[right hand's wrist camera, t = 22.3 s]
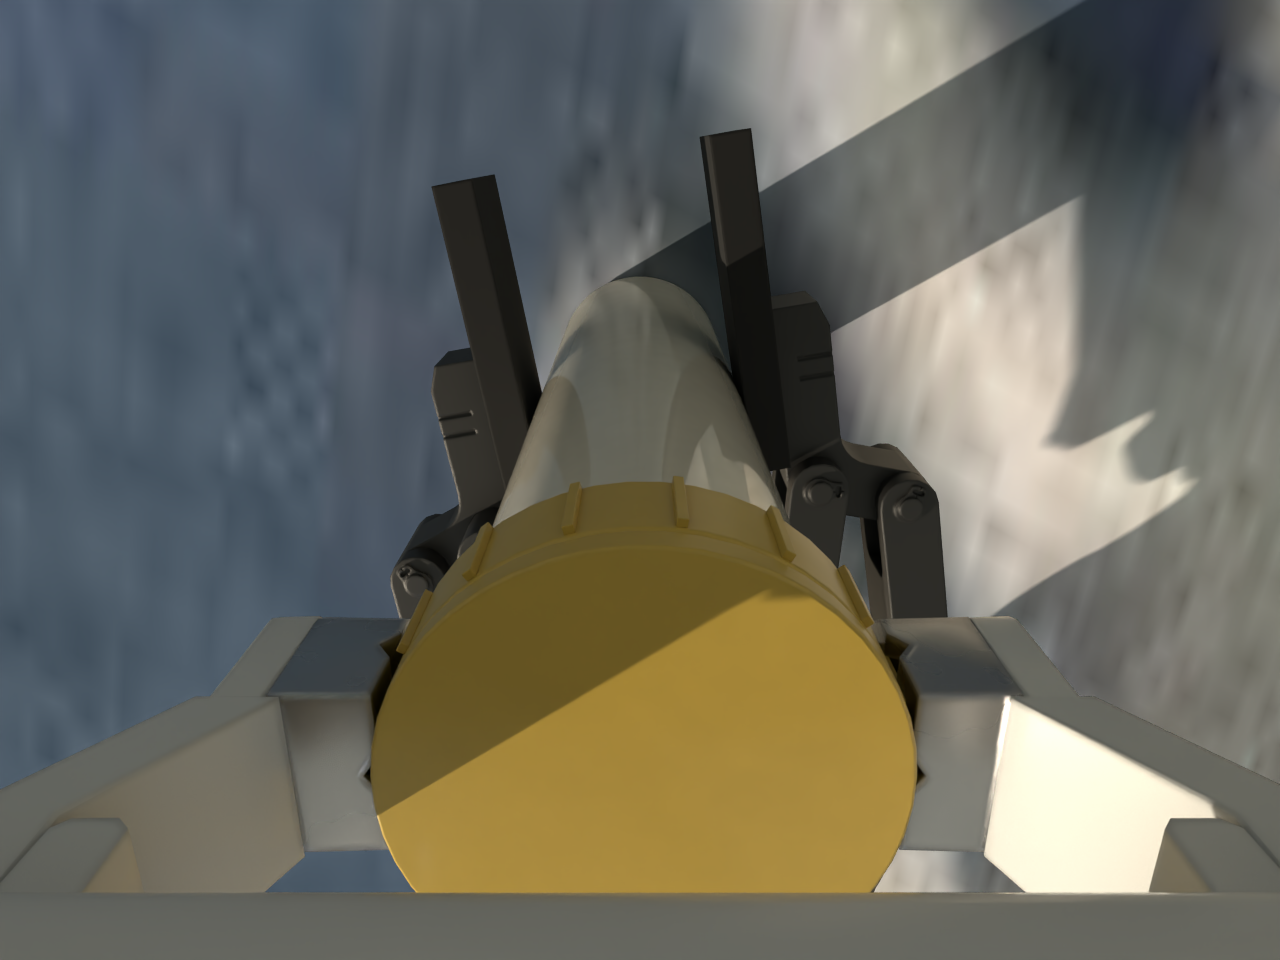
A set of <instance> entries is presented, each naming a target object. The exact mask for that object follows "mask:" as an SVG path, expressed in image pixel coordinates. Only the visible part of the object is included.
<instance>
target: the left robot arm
mask: <svg viewBox="0 0 1280 960" xmlns="http://www.w3.org/2000/svg"><path fill="white" fill-rule="evenodd" d="M700 143H701V150H702V158H703V165H704V172H705V179H706V187H707V194H708V201H709V209H710V216H711V223H712V230H713V238H714V245H715V252H716V260H717V267H718V274H719V281H720V289H721V296H722V303H723V311H724V318H725V325H726V332H727V340H728V347H729V354H730V361H731V369H732V376H733V380H734V382H735V385H736V387H737V390H738V392H739V395H740V397H741V400H742V402H743V405H744V407H745V410H746V412H747V415H748V417H749V420H750V422H751V425H752V428H753V430H754V433H755V435H756V438H757V440H758V443H759V445H760V448H761V450H762V453H763V455H764V458H765V460H766V463H767V465H768V468H769V470H770V471H773V473H772V478H773V480H774V483H775V485H776V488H777V490H778V493H779V495H780V498H781V501H782V503H783V506H784V508H785V511H786V513H787V516H788V518H789V521H790V523H791V526H792V527H793V528H794V529H796V530H797V531H799V532H800V533H801V534H803V535H804V536H805V537H807V538H808V539H809V540H810V541H811V542H812V543H813V544H814V545H816V546H817V547H818V548H819V549H820V550H821V551H822V552H823V553H824V554H825V555H826V556H827V557H828V558H829V559H830V560H831V561H832V563H833V564H834V565H835V567H836V568H837V569H838V566H839V559H840V552H841V545H842V538H843V531H844V524H845V517H846V515H848V516H854V517H860V523H861V532H862V541H863V550H864V559H865V568H866V577H867V586H868V595H869V604H870V613H871V617H872V619H873V621H874V620H878V619H906V618H947V617H948V616H947V603H946V590H945V577H944V565H943V552H942V539H941V526H940V513H939V502H938V498H937V495H936V492H935V491H934V490H933V489H932V487H931V486H930V485H929V484H928V483H927V481H926V480H925V479H924V478H923V476H922V475H921V474H920V473H919V472H918V470H917V469H916V468H915V467H914V466H913V465H912V463H911V462H910V461H909V460H908V459H907V458H906V457H905V456H904V454H903V453H902V452H901V451H900V450H899V449H898V448H897V447H895V446H892V445H890V444H876V445H873V446H871V447H870V446H864V445H858V444H853V443H850V442H846V441H844V440H843V439H841V436H840V427H839V417H838V407H837V396H836V386H835V375H834V365H833V356H832V344H831V334H830V325H829V323H828V321H827V319H826V317H825V316H824V314H823V312H822V310H821V308H820V306H819V304H818V303H817V301H816V300H815V299H813V298H812V297H811V296H810V295H809V294H808V293H807V292H806V291H801V292H795V293H789V294H783V295H777V296H771V293H770V285H769V276H768V268H767V260H766V251H765V243H764V234H763V226H762V217H761V209H760V200H759V192H758V183H757V175H756V166H755V158H754V149H753V141H752V133H751V128H749V129H742V130H735V131H729V132H724V133H718V134H713V135H707V136H702V137H700ZM432 191H433V195H434V199H435V203H436V207H437V211H438V216H439V220H440V224H441V228H442V232H443V236H444V240H445V245H446V249H447V253H448V257H449V261H450V265H451V269H452V274H453V278H454V282H455V286H456V290H457V294H458V298H459V303H460V307H461V311H462V315H463V319H464V323H465V327H466V332H467V336H468V340H469V344H470V348H466V349H460V350H454V351H448V352H447V353H446V355H445V356H444V357H443V358H442V359H441V360H440V361H439V362H438V363H437V364H436V365H435V366H434V374H433V381H432V388H431V394H432V397H433V401H434V405H435V409H436V413H437V416H438V418H439V424H440V428H441V432H442V435H443V437H444V443H445V447H446V451H447V455H448V459H449V462H450V466H451V470H452V474H453V478H454V482H455V485H456V489H457V493H458V498H459V505H457V506H456V507H454V508H453V509H451V510H449V511H447V512H445V513H444V514H434V515H431V516H428V517H426V518H425V519H424V520H423V521H422V522H421V523H420V524H419V526H418V527H417V529H416V531H415V533H414V534H413V536H412V538H411V539H410V541H409V543H408V545H407V546H406V548H405V550H404V552H403V553H402V555H401V557H400V558H399V560H398V562H397V564H396V565H395V567H394V569H393V572H392V574H391V576H390V578H391V588H392V592H393V595H394V599H395V603H396V606H397V610H398V613H399V617H400V619H411V617H412V615H413V613H414V611H415V609H416V607H417V605H418V603H419V601H420V598H421V596H422V595H423V593H424V591H425V590H428V591H430V592H432V593H433V592H434V590H435V588H436V587H437V585H438V583H439V582H440V581H441V579H442V578H443V577H444V575H445V574H446V573H447V571H448V570H449V569H450V568H451V566H452V565H453V564H454V562H455V561H456V560H457V559H458V558H459V557H460V556H461V555H462V554H463V553H464V552H465V551H466V550H467V549H468V548H469V547H470V546H471V545H472V544H473V543H474V542H475V540H476V538H477V535H478V533H479V530H480V528H481V527H482V526H483V525H485V524H486V523H487V522H489V523H490V524H491V525H493V523H494V520H495V517H496V515H497V512H498V509H499V507H500V504H501V501H502V499H503V496H504V493H505V491H506V488H507V485H508V483H509V480H510V477H511V475H512V472H513V469H514V467H515V464H516V461H517V459H518V456H519V453H520V451H521V448H522V445H523V443H524V440H525V437H526V435H527V432H528V429H529V427H530V424H531V421H532V419H533V416H534V413H535V411H536V408H537V405H538V403H539V400H540V397H541V395H542V391H541V387H540V382H539V377H538V373H537V368H536V364H535V359H534V354H533V350H532V345H531V340H530V336H529V331H528V327H527V322H526V317H525V313H524V308H523V304H522V299H521V294H520V290H519V285H518V280H517V276H516V271H515V267H514V262H513V257H512V253H511V248H510V244H509V239H508V234H507V230H506V225H505V220H504V216H503V211H502V207H501V202H500V197H499V193H498V188H497V183H496V179H495V174H494V175H489V176H483V177H478V178H472V179H467V180H461V181H456V182H451V183H447V184H442V185H437V186H432ZM880 880H881V879H880ZM879 882H880V881H879ZM879 882H878V883H879ZM877 885H878V884H877ZM877 885H876V886H875V888H876V887H877ZM875 888H874V889H873V890H872V891H871V892H870V893H874V890H875Z"/></svg>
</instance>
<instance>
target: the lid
mask: <svg viewBox="0 0 1280 960" xmlns="http://www.w3.org/2000/svg"><path fill="white" fill-rule="evenodd" d="M873 624H874V621H873V619H872V617H871V614H870V612H869V610H868V608H867V606H866V604H865V602H864V600H863V598H862V596H861V594H860V592H859V590H858V588H857V586H856V584H855V582H854V580H853V578H852V576H851V573H850V571H849V570H848V569H847V567H846V566H845V565H843V566H841V567H840V568H838V569H837V568H836V567H835V565H834V564H833V563H832V561H831V560H830V559H829V558H828V557H827V556H826V555H825V554H824V553H823V552H822V551H821V550H820V549H819V548H818V547H817V546H816V545H814V544H813V543H812V542H811V541H810V540H809V539H808V538H807V537H805V536H804V535H803V534H801V533H800V532H799V531H797V530H796V529H794V528H793V527H792V526H790V525H789V524H788V523H786V522H785V521H784V520H783V518H782V515H781V512H780V510H779V509H778V508H776V507H774V506H772V505H770V507H769V508H768V510H767V511H765V510H763V509H762V508H760V507H758V506H756V505H753V504H751V503H748V502H746V501H743V500H741V499H738V498H735V497H733V496H730V495H728V494H725V493H721V492H717V491H713V490H709V489H705V488H701V487H697V486H692V485H685V483H684V477H680V476H673V479H672V483H667V482H620V483H612V484H604V485H595V486H590V487H586V488H582V487H581V483H580V482H575V483H571V484H570V485H569V490H568V492H566V493H563V494H559V495H557V496H554V497H552V498H549V499H547V500H544V501H541V502H539V503H536V504H534V505H531V506H529V507H527V508H526V509H524V510H522V511H520V512H518V513H516V514H515V515H513V516H511V517H509V518H507V519H505V520H504V521H502V522H501V523H499V524H498V525H497V526H495V527H494V528H493V527H492V525H491V524H490V523H489V522H487V523H486V524H485V525H483V526H482V527H481V528H480V530H479V533H478V535H477V538H476V540H475V542H474V543H473V544H472V545H471V546H470V547H469V548H468V549H467V550H466V551H465V552H464V553H463V554H462V555H461V556H460V557H459V558H458V559H457V560H456V561H455V562H454V564H453V565H452V566H451V568H450V569H449V570H448V571H447V573H446V574H445V575H444V577H443V578H442V579H441V581H440V582H439V583H438V585H437V587H436V588H435V590H434V592H433V593H432V592H430V591H428V590H425V591H424V593H423V595H422V596H421V598H420V601H419V603H418V605H417V607H416V609H415V611H414V613H413V615H412V617H411V620H410V622H409V624H408V626H407V628H406V630H405V632H404V634H403V636H402V639H401V641H400V643H399V645H398V647H397V649H396V651H398V652H400V653H402V654H403V656H402V659H401V661H400V663H399V665H398V668H397V670H396V672H395V674H394V676H393V678H392V680H391V683H390V685H389V687H388V689H387V692H386V695H385V697H384V700H383V703H382V706H381V708H380V711H379V714H378V716H377V720H376V725H375V731H374V736H373V741H372V746H371V772H370V778H371V786H372V793H373V801H374V807H375V811H376V814H377V818H378V821H379V824H380V828H381V831H382V835H383V837H384V839H385V841H386V844H387V846H388V848H389V850H390V852H391V854H392V856H393V858H394V861H395V862H396V864H397V866H398V867H399V869H400V870H401V872H402V873H403V875H404V876H405V878H406V879H407V881H408V882H409V884H410V885H411V887H412V888H413V889H414V890H415V891H416V893H870V892H871V891H872V890H873V889H874V888H875V886H876V885H877V884H878V882H879V881H880V879H881V878H882V876H883V875H884V873H885V871H886V870H887V868H888V867H889V865H890V864H891V862H892V861H893V859H894V856H895V854H896V852H897V850H898V848H899V846H900V844H901V842H902V839H903V837H904V835H905V832H906V829H907V825H908V822H909V819H910V815H911V812H912V809H913V804H914V796H915V789H916V782H917V748H916V742H915V737H914V731H913V726H912V721H911V716H910V714H909V711H908V708H907V705H906V699H905V697H904V695H903V693H902V691H901V689H900V687H899V685H898V682H897V680H896V679H897V673H896V671H895V669H894V667H893V665H892V662H891V660H890V658H889V657H888V656H885V655H884V653H883V651H882V649H881V646H880V644H879V643H878V641H877V639H876V636H875V634H874V632H873V630H872V628H871V625H873Z"/></svg>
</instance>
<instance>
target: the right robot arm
mask: <svg viewBox="0 0 1280 960" xmlns="http://www.w3.org/2000/svg"><path fill="white" fill-rule="evenodd" d="M410 620H411V619H400V618H346V617H324V618H322V617H320V616H305V617H279V618H272V619H271V620H270V621H269V622H268V624H267V625H266V626H265V627H264V629H263V630H262V631H261V632H260V634H259V635H258V636H257V638H256V639H255V640H254V641H253V643H252V644H251V645H250V646H249V648H248V649H247V650H246V652H245V653H244V654H243V655H242V657H241V658H240V659H239V660H238V662H237V663H236V664H235V665H234V667H233V668H232V669H231V671H230V672H229V673H228V674H227V676H226V677H225V678H224V679H223V681H222V682H221V683H220V685H219V686H218V687H217V688H216V690H215V691H214V692H213V693H212V695H211V696H210V697H193V698H191V699H189V700H187V701H185V702H183V703H181V704H179V705H177V706H175V707H172V708H170V709H168V710H166V711H164V712H162V713H160V714H158V715H156V716H154V717H151V718H149V719H147V720H145V721H143V722H141V723H139V724H137V725H135V726H133V727H131V728H128V729H126V730H124V731H122V732H120V733H118V734H116V735H114V736H112V737H110V738H107V739H105V740H103V741H101V742H99V743H97V744H95V745H93V746H91V747H89V748H86V749H84V750H82V751H80V752H78V753H76V754H74V755H72V756H70V757H68V758H65V759H63V760H61V761H59V762H57V763H55V764H53V765H51V766H49V767H47V768H44V769H42V770H40V771H38V772H36V773H34V774H32V775H30V776H28V777H26V778H23V779H21V780H19V781H17V782H15V783H13V784H11V785H9V786H7V787H5V788H2V789H0V960H1280V784H1278V783H1276V782H1274V781H1271V780H1269V779H1267V778H1265V777H1263V776H1261V775H1259V774H1257V773H1255V772H1252V771H1250V770H1248V769H1246V768H1244V767H1242V766H1240V765H1238V764H1236V763H1233V762H1231V761H1229V760H1227V759H1225V758H1223V757H1221V756H1219V755H1216V754H1214V753H1212V752H1210V751H1208V750H1206V749H1204V748H1202V747H1200V746H1197V745H1195V744H1193V743H1191V742H1189V741H1187V740H1185V739H1183V738H1181V737H1178V736H1176V735H1174V734H1172V733H1170V732H1168V731H1166V730H1164V729H1162V728H1159V727H1157V726H1155V725H1153V724H1151V723H1149V722H1147V721H1145V720H1143V719H1140V718H1138V717H1136V716H1134V715H1132V714H1130V713H1128V712H1126V711H1124V710H1121V709H1119V708H1117V707H1115V706H1113V705H1111V704H1109V703H1107V702H1105V701H1102V700H1100V699H1098V698H1096V697H1079V695H1078V694H1077V693H1076V692H1075V690H1074V689H1073V688H1072V687H1071V686H1070V684H1069V683H1068V682H1067V681H1066V679H1065V678H1064V677H1063V676H1062V674H1061V673H1060V672H1059V671H1058V669H1057V668H1056V667H1055V666H1054V664H1053V663H1052V662H1051V661H1050V660H1049V658H1048V657H1047V656H1046V655H1045V653H1044V652H1043V651H1042V650H1041V648H1040V647H1039V646H1038V645H1037V643H1036V642H1035V641H1034V640H1033V639H1032V637H1031V636H1030V635H1029V634H1028V632H1027V631H1026V630H1025V629H1024V627H1023V626H1022V625H1021V624H1020V622H1019V621H1018V620H1017V619H1014V618H1012V617H1010V616H995V617H972V618H969V617H947V618H906V619H878V620H874V624H873V625H871V628H872V630H873V632H874V634H875V636H876V639H877V641H878V643H879V644H880V646H881V649H882V651H883V653H884V655H885V656H888V657H889V658H890V660H891V662H892V665H893V667H894V669H895V671H896V673H897V679H896V680H897V682H898V685H899V687H900V689H901V691H902V693H903V695H904V697H905V699H906V705H907V708H908V711H909V714H910V716H911V721H912V726H913V731H914V737H915V742H916V748H917V782H916V789H915V796H914V804H913V809H912V812H911V815H910V819H909V822H908V825H907V829H906V832H905V835H904V837H903V839H902V842H901V844H900V846H899V850H930V851H967V852H984V856H985V857H986V858H987V859H988V860H989V861H990V862H992V863H993V864H994V865H995V866H996V867H997V868H998V869H1000V870H1001V871H1002V872H1003V873H1004V874H1005V875H1007V876H1008V877H1009V878H1010V879H1011V880H1012V881H1013V882H1015V883H1016V884H1017V885H1018V886H1019V887H1020V888H1021V889H1023V890H1024V891H1025V892H1003V893H264V892H265V891H266V890H267V889H268V888H269V887H271V886H272V885H273V884H274V883H275V882H276V881H277V880H278V879H280V878H281V877H282V876H283V875H284V874H285V873H286V872H288V871H289V870H290V869H291V868H292V867H293V866H294V865H296V864H297V863H298V862H299V861H300V860H301V859H302V858H303V857H305V854H304V852H321V851H357V850H389V848H388V846H387V844H386V841H385V839H384V837H383V835H382V831H381V828H380V824H379V821H378V818H377V814H376V811H375V807H374V801H373V793H372V786H371V778H370V772H371V746H372V741H373V736H374V731H375V725H376V720H377V716H378V714H379V711H380V708H381V706H382V703H383V700H384V697H385V695H386V692H387V689H388V687H389V685H390V683H391V680H392V678H393V676H394V674H395V672H396V670H397V668H398V665H399V663H400V661H401V659H402V656H403V654H402V653H400V652H398V651H396V649H397V647H398V645H399V643H400V641H401V639H402V636H403V634H404V632H405V630H406V628H407V626H408V624H409V622H410Z"/></svg>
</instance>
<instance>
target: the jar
mask: <svg viewBox="0 0 1280 960" xmlns="http://www.w3.org/2000/svg"><path fill="white" fill-rule="evenodd" d="M673 476H680V477H684V483H685V485H692V486H697V487H701V488H705V489H709V490H713V491H717V492H721V493H725V494H728V495H730V496H733V497H735V498H738V499H741V500H743V501H746V502H748V503H751V504H753V505H756V506H758V507H760V508H762V509H763V510H765V511H767V510H768V508H769V507H770V505H772V506H774V507H776V508H778V509H779V510H780V512H781V515H782V518H783V520H784V521H785V522H786V523H788V524H789V525H790V526H791V523H790V521H789V518H788V516H787V513H786V511H785V508H784V506H783V503H782V501H781V498H780V495H779V493H778V490H777V488H776V485H775V483H774V480H773V478H772V475H771V473H770V470H769V468H768V465H767V463H766V460H765V458H764V455H763V453H762V450H761V448H760V445H759V443H758V440H757V438H756V435H755V433H754V430H753V428H752V425H751V422H750V420H749V417H748V415H747V412H746V410H745V407H744V405H743V402H742V400H741V397H740V395H739V392H738V390H737V387H736V385H735V382H734V380H733V377H732V375H731V372H730V370H729V367H728V365H727V362H726V360H725V357H724V355H723V352H722V349H721V347H720V344H719V342H718V339H717V337H716V334H715V332H714V329H713V327H712V324H711V322H710V320H709V318H708V316H707V314H706V312H705V311H704V310H703V308H702V307H701V306H700V304H699V303H698V302H697V301H696V300H695V299H694V298H693V297H692V296H691V295H689V294H688V293H687V292H686V291H684V290H683V289H681V288H679V287H678V286H676V285H674V284H672V283H669V282H667V281H664V280H661V279H657V278H651V277H628V278H623V279H619V280H615V281H613V282H610V283H608V284H605V285H604V286H602V287H600V288H598V289H597V290H595V291H594V292H593V293H591V294H590V295H589V296H588V297H587V298H586V299H585V300H584V301H583V302H582V303H581V304H580V305H579V306H578V308H577V309H576V310H575V312H574V314H573V315H572V317H571V319H570V321H569V323H568V326H567V328H566V331H565V334H564V336H563V339H562V342H561V344H560V347H559V350H558V352H557V355H556V358H555V360H554V363H553V366H552V368H551V371H550V374H549V376H548V379H547V382H546V384H545V387H544V389H543V392H542V395H541V397H540V400H539V403H538V405H537V408H536V411H535V413H534V416H533V419H532V421H531V424H530V427H529V429H528V432H527V435H526V437H525V440H524V443H523V445H522V448H521V451H520V453H519V456H518V459H517V461H516V464H515V467H514V469H513V472H512V475H511V477H510V480H509V483H508V485H507V488H506V491H505V493H504V496H503V499H502V501H501V504H500V507H499V509H498V512H497V515H496V517H495V520H494V523H493V525H492V527H493V528H494V527H495V526H497V525H498V524H499V523H501V522H502V521H504V520H505V519H507V518H509V517H511V516H513V515H515V514H516V513H518V512H520V511H522V510H524V509H526V508H527V507H529V506H531V505H534V504H536V503H539V502H541V501H544V500H547V499H549V498H552V497H554V496H557V495H559V494H563V493H566V492H568V490H569V485H570V484H571V483H575V482H580V483H581V487H582V488H586V487H590V486H595V485H604V484H612V483H620V482H667V483H672V479H673Z"/></svg>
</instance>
